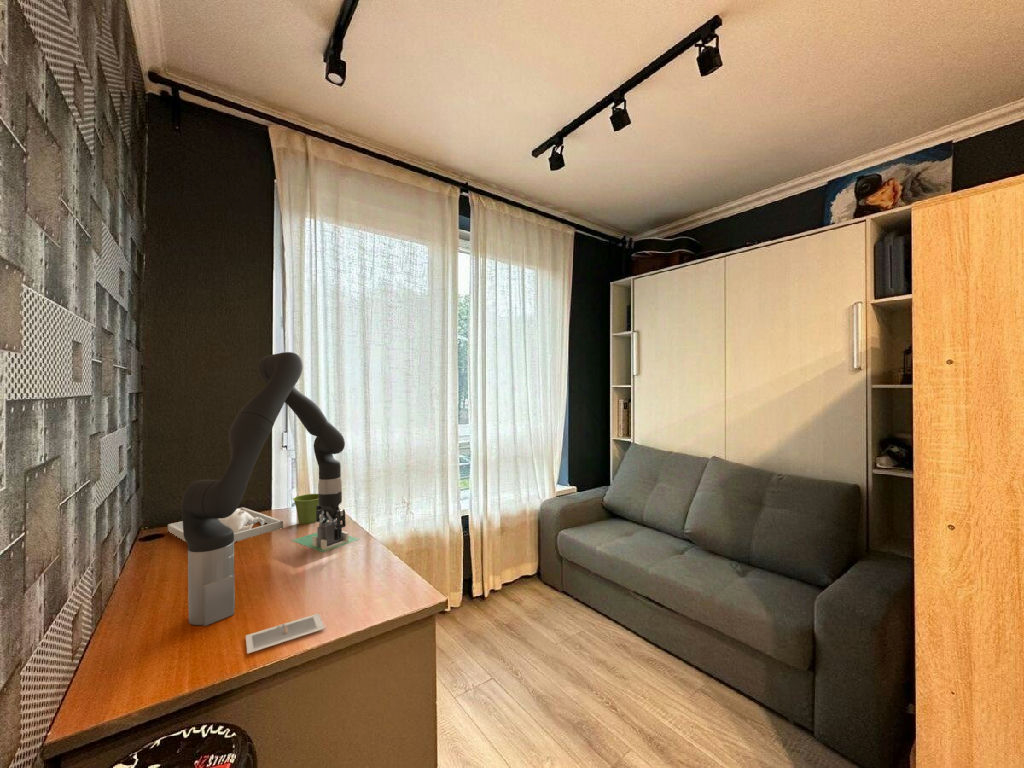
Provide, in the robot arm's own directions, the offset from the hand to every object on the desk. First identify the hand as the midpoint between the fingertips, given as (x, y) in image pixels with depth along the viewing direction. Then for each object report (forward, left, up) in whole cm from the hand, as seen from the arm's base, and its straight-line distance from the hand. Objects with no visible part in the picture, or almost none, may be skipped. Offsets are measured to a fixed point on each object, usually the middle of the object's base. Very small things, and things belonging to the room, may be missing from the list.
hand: (330, 537), depth 143 cm
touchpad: (-39, +34, -4) cm, 52 cm away
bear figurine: (+46, +13, -4) cm, 48 cm away
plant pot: (+31, -10, -4) cm, 33 cm away
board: (+5, -1, -4) cm, 6 cm away
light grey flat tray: (+53, +12, -4) cm, 55 cm away
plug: (0, 0, -2) cm, 2 cm away
